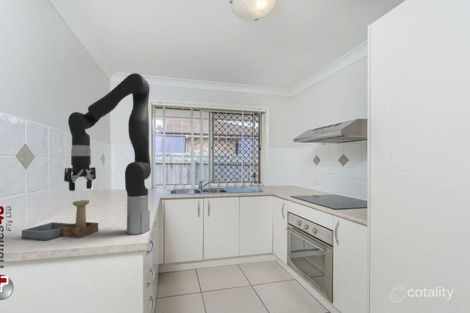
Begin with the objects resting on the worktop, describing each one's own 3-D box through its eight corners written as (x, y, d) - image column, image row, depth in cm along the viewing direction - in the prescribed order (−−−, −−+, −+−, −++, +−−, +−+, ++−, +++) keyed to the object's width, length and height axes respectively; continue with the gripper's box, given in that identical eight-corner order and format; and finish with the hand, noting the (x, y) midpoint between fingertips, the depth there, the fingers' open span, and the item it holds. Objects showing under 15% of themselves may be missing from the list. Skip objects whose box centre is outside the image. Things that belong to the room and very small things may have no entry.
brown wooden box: (98, 231, 104) (98, 222, 104) (80, 237, 95) (80, 228, 95) (80, 229, 106) (80, 221, 106) (61, 236, 97) (62, 227, 97)
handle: (69, 235, 98) (70, 202, 98) (83, 231, 104) (83, 199, 104) (77, 236, 96) (78, 202, 97) (91, 231, 103) (91, 200, 103)
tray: (75, 231, 104) (76, 223, 104) (47, 240, 91) (47, 232, 91) (52, 229, 107) (52, 222, 107) (21, 238, 94) (21, 230, 94)
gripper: (73, 154, 94) (73, 191, 94) (100, 155, 108) (100, 188, 108) (59, 155, 96) (59, 191, 96) (87, 156, 110) (87, 187, 109)
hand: (81, 189), depth 102 cm, fingers open, 8 cm apart
